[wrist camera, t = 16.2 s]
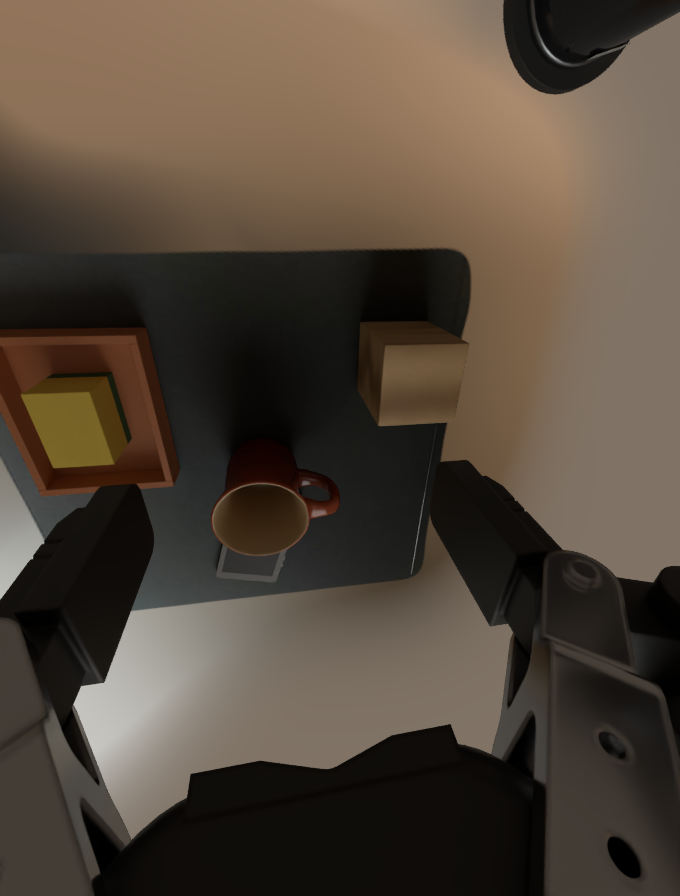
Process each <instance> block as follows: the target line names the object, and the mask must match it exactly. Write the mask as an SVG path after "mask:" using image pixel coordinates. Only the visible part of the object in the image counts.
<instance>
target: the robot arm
mask: <svg viewBox="0 0 680 896" xmlns="http://www.w3.org/2000/svg"><path fill="white" fill-rule="evenodd" d="M679 12H680V0H527V16H528V24H529V29H530V33H531V36H532V39H533V42H534V44H535V46H536V48H537V50H538V52H539V53H540V54H541V56H542V57H543V58H544V59H545V60H546V61H547V62H548V63H550V64H551V65H553V66H555V67H557V68H561V69H576V68H579V67H582V66H585V65H587V64H588V63H590V62H592V61H594V60H596V59H597V58H599V57H600V56H602V55H605V54H608V53H610V52H613V51H616V50H619V49H621V48H623V47H624V46H626V45H627V44H626V45H623V46H620V47H617V46H618V45H620V44H622V43H624V42H626V41H628V40H630V39H632V38H633V37H635V36H637V35H639V34H641V33H642V32H644V31H646V30H648V29H649V28H651V27H653V26H655V25H657V24H659V23H660V22H662V21H664V20H666V19H668V18H670V17H671V16H673V15H675V14H677V13H679ZM615 47H617V48H615ZM613 48H615V49H613ZM611 49H612V50H611ZM430 517H431V521H432V524H433V526H434V528H435V530H436V532H437V533H438V535H439V537H440V539H441V540H442V542H443V544H444V546H445V548H446V549H447V551H448V552H449V555H450V556H451V558H452V560H453V562H454V563H455V565H456V567H457V569H458V570H459V572H460V574H461V576H462V578H463V579H464V581H465V583H466V585H467V587H468V588H469V590H470V592H471V594H472V595H473V597H474V599H475V600H476V602H477V604H478V606H479V608H480V610H481V611H482V613H483V615H484V616H485V618H486V620H487V622H488V624H489V625H490V626H496V625H502V624H509V626H510V627H511V629H512V631H513V634H512V637H511V639H510V647H509V654H508V663H507V670H506V678H505V686H504V694H503V703H502V711H501V717H500V722H499V726H498V730H497V733H496V736H495V740H494V744H493V749H492V754H489V753H487V752H484V751H482V750H480V749H476V748H473V747H469V746H466V745H461V744H458V743H457V740H456V738H455V735H454V732H453V730H452V727H451V725H450V724H449V725H444V726H438V727H434V728H428V729H423V730H418V731H412V732H407V733H402V734H397V735H392V736H390V737H388V738H386V739H385V740H383V741H381V742H379V743H378V744H376V745H374V746H372V747H370V748H369V749H367V750H365V751H363V752H362V753H360V754H358V755H356V756H355V757H353V758H351V759H349V760H347V761H346V762H344V763H342V764H340V765H338V766H337V767H334V768H331V769H318V768H310V767H302V766H296V765H288V764H280V763H273V762H265V761H256V762H251V763H246V764H241V765H235V766H230V767H225V768H220V769H215V770H210V771H204V772H199V773H194V774H191V775H190V782H189V789H188V795H187V798H186V799H184V800H182V801H180V802H178V803H177V804H175V805H174V806H172V807H171V808H169V809H168V810H166V811H165V812H163V813H162V814H160V815H159V816H158V817H157V818H156V819H154V820H153V821H152V822H151V823H150V824H149V825H148V826H146V827H145V828H144V829H143V830H141V831H140V832H139V833H138V834H137V835H136V836H135V837H134V838H133V839H132V840H131V838H130V835H129V833H128V831H127V829H126V826H125V824H124V822H123V820H122V818H121V816H120V814H119V812H118V810H117V809H116V807H115V805H114V803H113V801H112V799H111V797H110V795H109V793H108V790H107V788H106V785H105V783H104V781H103V778H102V775H101V773H100V770H99V767H98V765H97V762H96V760H95V757H94V755H93V752H92V749H91V747H90V744H89V742H88V739H87V736H86V734H85V731H84V728H83V726H82V723H81V721H80V718H79V716H78V713H77V711H76V709H75V707H74V705H73V704H74V701H75V699H76V697H77V694H78V692H79V690H80V687H81V686H84V685H91V684H98V683H104V682H105V679H106V676H107V674H108V671H109V668H110V665H111V663H112V660H113V658H114V655H115V652H116V649H117V647H118V644H119V641H120V639H121V636H122V633H123V630H124V628H125V625H126V623H127V620H128V617H129V615H130V612H131V609H132V607H133V604H134V601H135V598H136V596H137V593H138V590H139V588H140V585H141V582H142V580H143V577H144V574H145V572H146V569H147V566H148V564H149V561H150V558H151V555H152V552H153V547H154V533H153V528H152V525H151V522H150V519H149V516H148V512H147V509H146V506H145V503H144V500H143V497H142V493H141V490H140V488H139V486H138V485H137V484H121V485H108V486H101V487H99V488H98V490H97V491H96V493H95V494H94V496H93V497H92V498H91V500H90V501H89V503H88V504H87V506H86V507H85V508H77V509H76V510H74V511H73V512H72V513H70V514H69V515H68V516H66V517H65V518H64V519H62V520H61V521H60V522H58V523H57V524H56V526H55V527H54V528H53V530H52V531H51V532H50V534H49V535H48V536H47V538H46V539H45V541H44V544H42V545H41V546H40V547H39V549H38V550H37V551H36V553H35V554H34V555H33V559H32V560H30V561H29V562H28V563H27V565H26V566H25V567H24V569H23V570H22V571H21V573H20V574H19V576H18V577H17V578H16V580H15V581H14V582H13V584H12V585H11V586H10V588H9V589H8V590H7V592H6V593H5V594H4V596H3V597H2V598H1V600H0V896H680V566H670V567H666V568H664V569H663V570H661V572H660V573H659V575H658V576H657V578H656V579H655V581H654V582H653V583H651V582H645V581H637V580H631V579H624V578H618V577H616V576H615V575H614V574H613V573H612V572H611V571H610V570H609V569H608V568H607V567H605V566H604V565H603V564H601V563H600V562H598V561H596V560H595V559H593V558H591V557H588V556H587V555H584V554H581V553H578V552H574V551H568V550H562V549H561V547H560V546H559V545H558V544H557V543H556V542H555V541H554V540H553V539H552V538H551V537H550V536H549V535H548V534H547V533H546V531H544V529H543V528H542V527H541V526H540V525H539V524H538V523H537V522H536V521H535V520H534V519H533V518H532V516H531V515H530V514H529V513H528V512H525V511H524V508H523V507H522V506H521V505H520V504H519V503H518V501H515V499H514V497H513V496H512V495H511V494H510V493H509V492H508V491H507V490H506V489H505V488H504V487H503V486H502V485H500V484H499V483H497V482H496V481H494V480H492V479H491V478H489V477H487V476H482V475H481V474H480V473H479V472H478V471H477V470H476V468H475V467H474V466H473V465H472V464H471V463H470V462H469V461H467V460H459V461H445V462H440V463H439V464H438V466H437V469H436V474H435V480H434V485H433V491H432V496H431V501H430Z"/></svg>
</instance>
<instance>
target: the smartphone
mask: <svg viewBox="0 0 680 896" xmlns="http://www.w3.org/2000/svg"><path fill="white" fill-rule="evenodd" d="M286 551H287V549H286V550H284V551H282V552H279V553H276V554H272V555H266V556H250V555H245V554H241V553H238V552H235V551H233V550H231V549H229V548H227V547H226V546H225V545H223V546H222V550H221V554H220V559H219V563H218V567H217V573H216V576H217V578H226V579H238V580H250V581H261V582H275V581H276V580H277V578H278V575H279V572H280V569H281V566H282V564H283V560H284V559H285V554H286Z"/></svg>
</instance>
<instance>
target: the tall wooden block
mask: <svg viewBox="0 0 680 896" xmlns="http://www.w3.org/2000/svg"><path fill="white" fill-rule="evenodd" d="M468 347H469V343H467V342H465V341H464V340H462V339H460V338H458V337H456V336H454V335H452V334H451V333H449V332H447V331H445V330H443V329H441V328H439V327H437V326H436V325H434V324H432V323H430V322H428V321H399V322H360V339H359V360H358V381H357V390H358V391H359V393H360V395H361V397H362V398H363V400H364V402H365V404H366V405H367V407H368V409H369V411H370V412H371V414H372V416H373V417H374V419H375V421H376V423H377V424H378V426H390V425H408V424H425V423H443V422H454V418H455V413H456V408H457V403H458V398H459V393H460V387H461V382H462V377H463V372H464V368H465V362H466V357H467V352H468Z"/></svg>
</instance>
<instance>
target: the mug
mask: <svg viewBox="0 0 680 896" xmlns="http://www.w3.org/2000/svg"><path fill="white" fill-rule="evenodd" d="M310 485H311V486H318V487H321V488H323V489H324V490H325V491H326V492H327V493H328V495H329V496H330V500H327V501H315V500H312V499H310V498H307V497H303V496H302V495H301V493H300V492H299V490H298V489H299V488H300V487H303V486H310ZM339 504H340V494H339V490H338V488H337V486H336V485H335V483H334V482H333V481H332V480H331V479H330V478H328V477H327V476H325V475H322V474H319V473H316V472H312V471H309V470H305V469H298V468H297V465H296V461H295V459H294V456H293V455H292V453H291V452H290V450H289V449H288V448H287V447H286V446H285V445H284V444H282V443H281V442H279V441H277V440H274V439H270V438H255V439H251V440H248V441H246V442H245V443H243V444H242V445H240V446H239V447H238V448H237V449H236V451H235V452H234V454H233V455H232V457H231V459H230V461H229V463H228V467H227V475H226V482H225V491H224V493H223V494H222V495H221V496H220V498H219V499H218V500H217V502H216V503H215V505H214V507H213V510H212V513H211V526H212V530H213V532H214V534H215V536H216V537H217V539H218V540H219V541H220V542H221V543H222V544H223V545H225V546H226V547H227V548H229V549H231V550H233V551H235V552H238V553H241V554H245V555H250V556H266V555H272V554H276V553H279V552H282V551H284V550H286V549H288V548H290V547H291V546H293V545H294V544H296V543H297V542H298V541H299V540H300V539H301V538H302V537H303V536H304V534H305V533H306V531H307V529H308V526H309V521H310V519H313V518H317V517H320V516H326V515H330V514H332V513H334V512H335V511H336V510H337V509H338V508H339Z"/></svg>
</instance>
